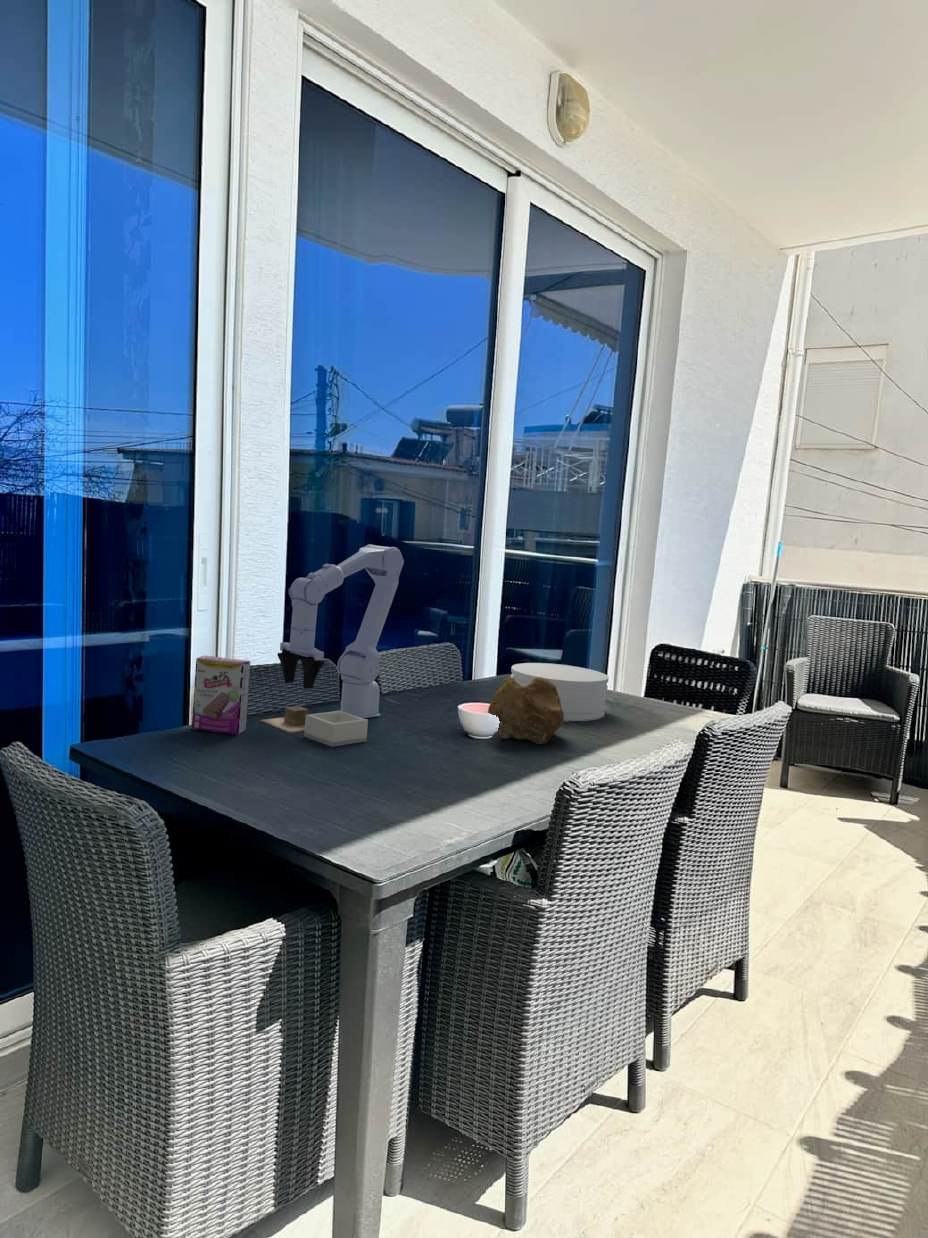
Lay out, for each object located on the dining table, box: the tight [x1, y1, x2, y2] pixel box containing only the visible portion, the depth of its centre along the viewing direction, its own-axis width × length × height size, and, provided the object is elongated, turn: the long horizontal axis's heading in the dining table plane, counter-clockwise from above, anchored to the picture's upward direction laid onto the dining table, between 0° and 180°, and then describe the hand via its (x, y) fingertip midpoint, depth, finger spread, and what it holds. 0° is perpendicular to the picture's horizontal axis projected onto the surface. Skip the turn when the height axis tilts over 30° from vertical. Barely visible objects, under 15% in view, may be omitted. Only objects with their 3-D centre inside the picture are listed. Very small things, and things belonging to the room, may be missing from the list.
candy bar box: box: [191, 655, 251, 736], centre depth 198 cm, size 11×5×16 cm, turn 84°
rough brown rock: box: [487, 676, 565, 745], centre depth 217 cm, size 23×17×15 cm
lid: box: [260, 705, 310, 734], centre depth 210 cm, size 12×12×4 cm
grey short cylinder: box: [510, 662, 609, 720], centre depth 255 cm, size 28×28×12 cm
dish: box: [303, 710, 369, 748], centre depth 200 cm, size 10×10×5 cm
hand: (298, 685), depth 210 cm, fingers open, 7 cm apart
